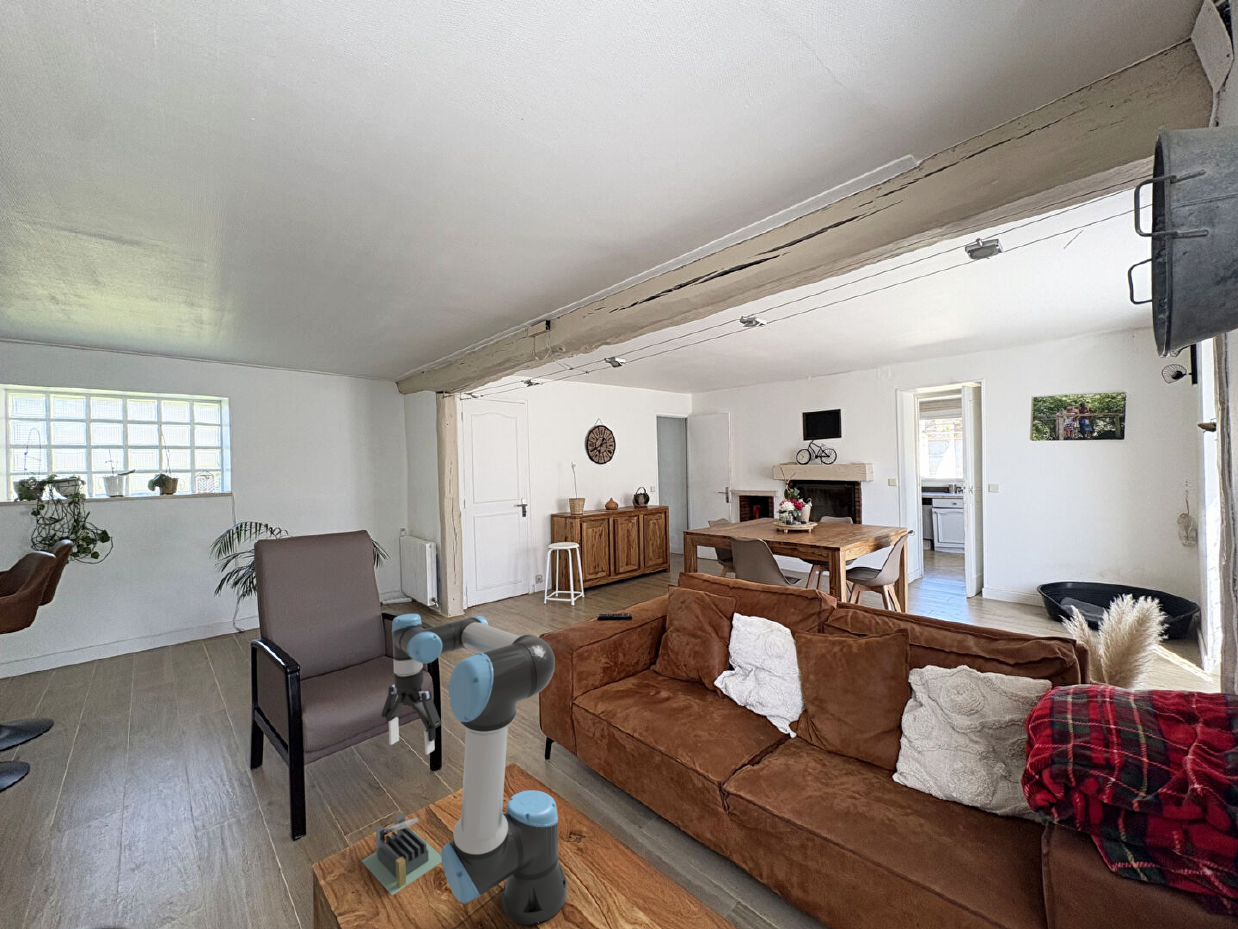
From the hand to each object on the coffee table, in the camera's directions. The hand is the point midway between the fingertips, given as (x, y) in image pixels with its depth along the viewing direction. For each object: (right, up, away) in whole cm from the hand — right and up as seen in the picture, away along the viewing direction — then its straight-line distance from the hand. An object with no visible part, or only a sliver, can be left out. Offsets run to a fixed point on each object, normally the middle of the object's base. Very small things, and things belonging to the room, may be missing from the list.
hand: (411, 747), depth 143 cm
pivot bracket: (-3, -24, -6) cm, 25 cm away
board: (+2, -25, -10) cm, 27 cm away
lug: (+5, -24, -18) cm, 30 cm away
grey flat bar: (+1, -16, -10) cm, 19 cm away
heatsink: (+2, -24, -10) cm, 26 cm away
